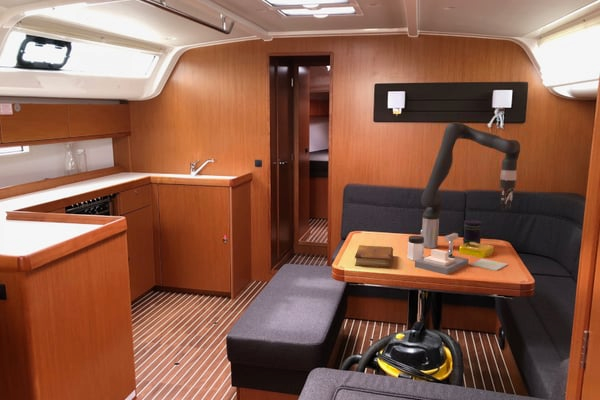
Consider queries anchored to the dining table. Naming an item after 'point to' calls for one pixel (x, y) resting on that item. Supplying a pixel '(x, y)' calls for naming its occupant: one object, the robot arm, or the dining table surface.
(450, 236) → the t key
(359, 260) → the diary
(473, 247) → the element tile
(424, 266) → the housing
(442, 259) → the cover
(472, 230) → the storage jar
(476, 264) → the mat
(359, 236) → the dining table surface
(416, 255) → the jar
